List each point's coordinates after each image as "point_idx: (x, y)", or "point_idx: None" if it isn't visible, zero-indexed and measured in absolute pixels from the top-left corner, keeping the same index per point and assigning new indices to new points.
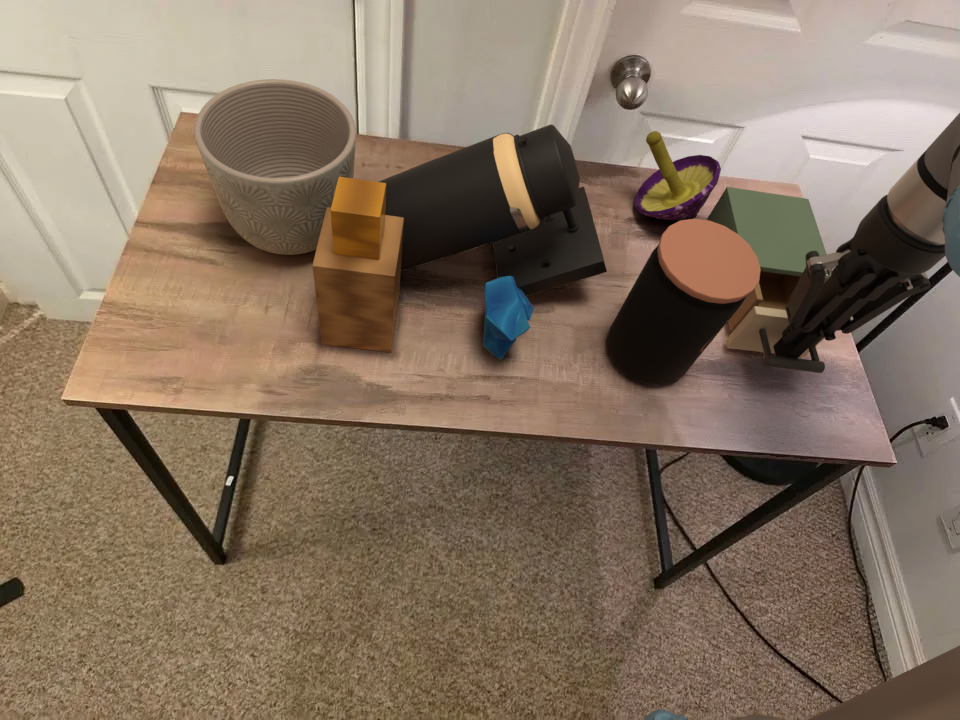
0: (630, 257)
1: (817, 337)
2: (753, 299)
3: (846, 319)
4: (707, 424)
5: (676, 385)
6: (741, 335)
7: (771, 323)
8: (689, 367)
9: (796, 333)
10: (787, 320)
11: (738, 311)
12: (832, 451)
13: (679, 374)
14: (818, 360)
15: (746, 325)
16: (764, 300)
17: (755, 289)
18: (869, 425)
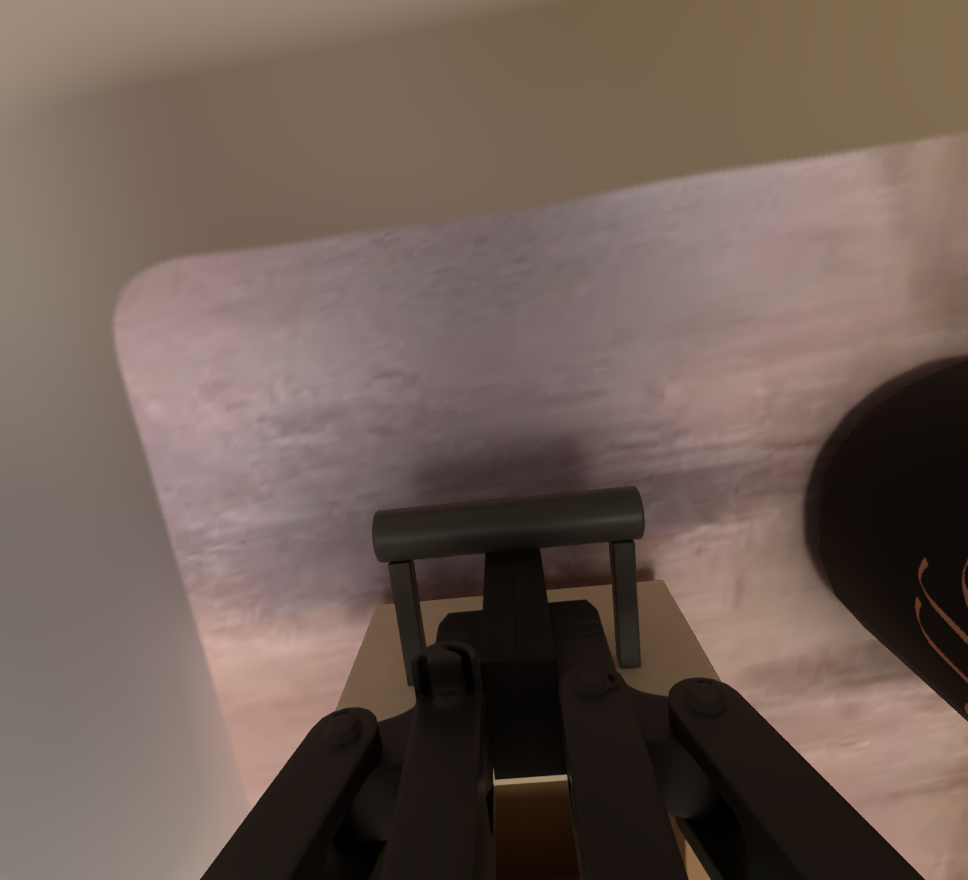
0: (937, 848)
1: (493, 651)
2: None
3: (406, 817)
4: (761, 253)
5: (856, 391)
6: (674, 624)
7: None
8: (916, 430)
9: (594, 654)
10: None
11: None
12: (290, 252)
13: (952, 392)
14: (393, 564)
15: (710, 665)
16: (517, 793)
17: None
18: (147, 394)
